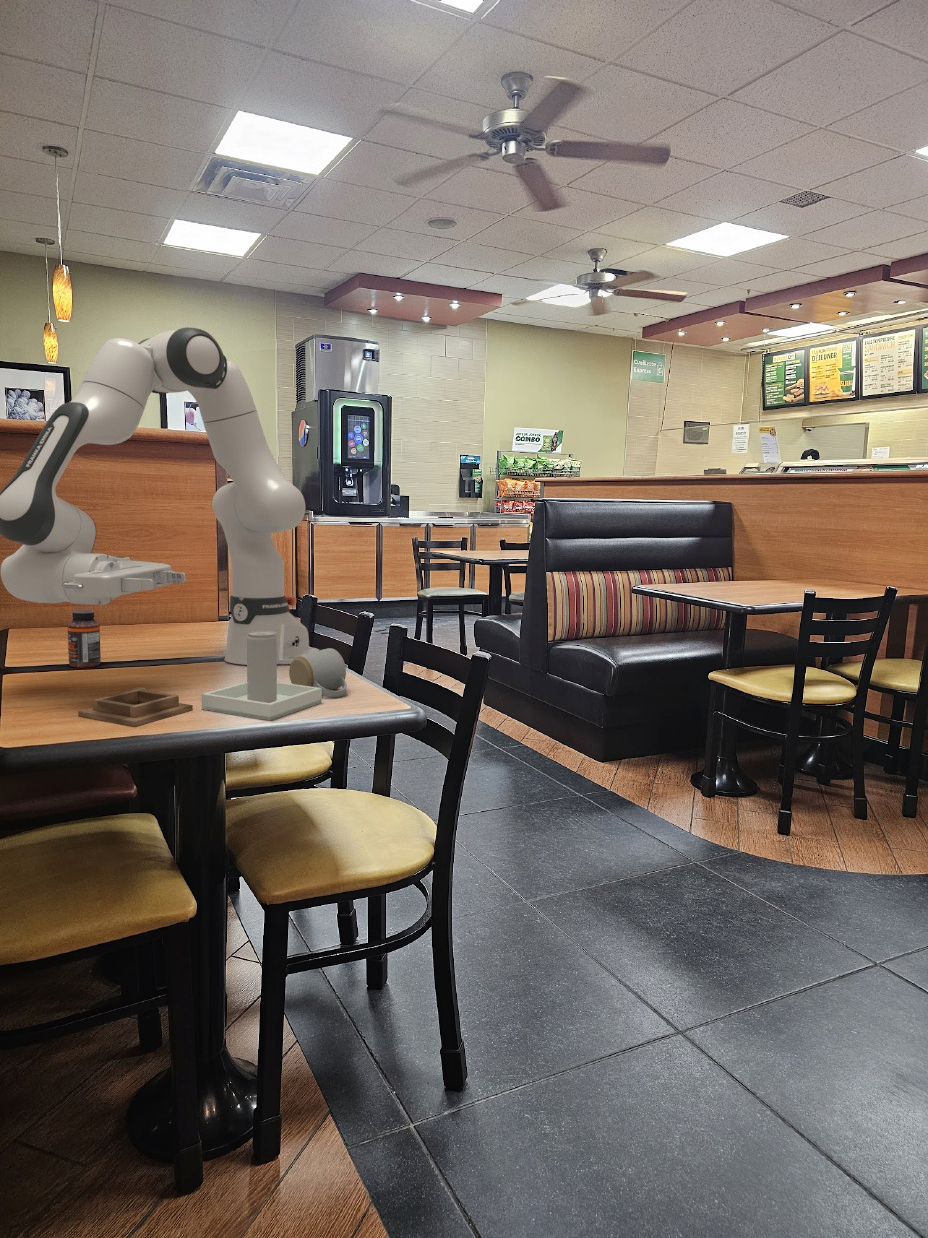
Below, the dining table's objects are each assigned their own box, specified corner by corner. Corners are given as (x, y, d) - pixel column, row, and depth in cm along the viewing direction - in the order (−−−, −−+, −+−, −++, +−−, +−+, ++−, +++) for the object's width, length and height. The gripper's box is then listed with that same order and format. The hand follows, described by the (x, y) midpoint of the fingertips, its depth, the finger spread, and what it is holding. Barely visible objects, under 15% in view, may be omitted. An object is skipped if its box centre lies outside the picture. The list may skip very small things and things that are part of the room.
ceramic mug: (285, 691, 145) (286, 650, 144) (321, 684, 151) (321, 645, 150) (322, 702, 138) (323, 659, 137) (357, 695, 144) (358, 654, 143)
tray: (257, 693, 143) (257, 679, 142) (321, 702, 137) (321, 688, 137) (201, 709, 130) (201, 694, 130) (270, 721, 124) (270, 704, 124)
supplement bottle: (62, 665, 161) (60, 610, 160) (90, 661, 166) (89, 608, 165) (78, 669, 158) (76, 613, 156) (106, 665, 163) (105, 611, 161)
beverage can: (268, 707, 130) (268, 635, 129) (241, 705, 131) (241, 634, 130) (281, 701, 135) (281, 631, 133) (255, 698, 136) (255, 630, 134)
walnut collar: (138, 700, 134) (138, 686, 134) (192, 709, 130) (192, 695, 129) (78, 716, 124) (77, 700, 123) (134, 726, 119) (134, 710, 118)
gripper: (53, 566, 125) (133, 568, 123) (127, 556, 145) (197, 557, 143) (56, 605, 126) (135, 608, 124) (129, 590, 146) (199, 592, 144)
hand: (169, 581), depth 134 cm, fingers open, 8 cm apart
